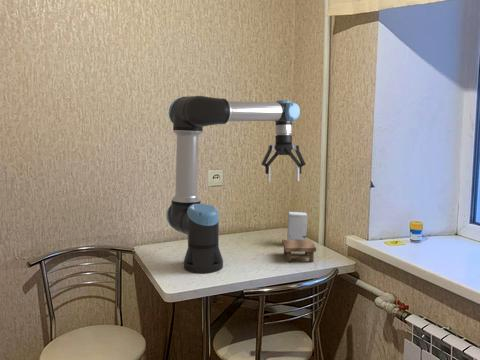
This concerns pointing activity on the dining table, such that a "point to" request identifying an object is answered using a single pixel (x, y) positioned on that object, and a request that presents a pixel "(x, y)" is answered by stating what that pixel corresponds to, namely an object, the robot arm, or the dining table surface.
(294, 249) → the stool
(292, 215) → the skincare box
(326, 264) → the dining table surface
